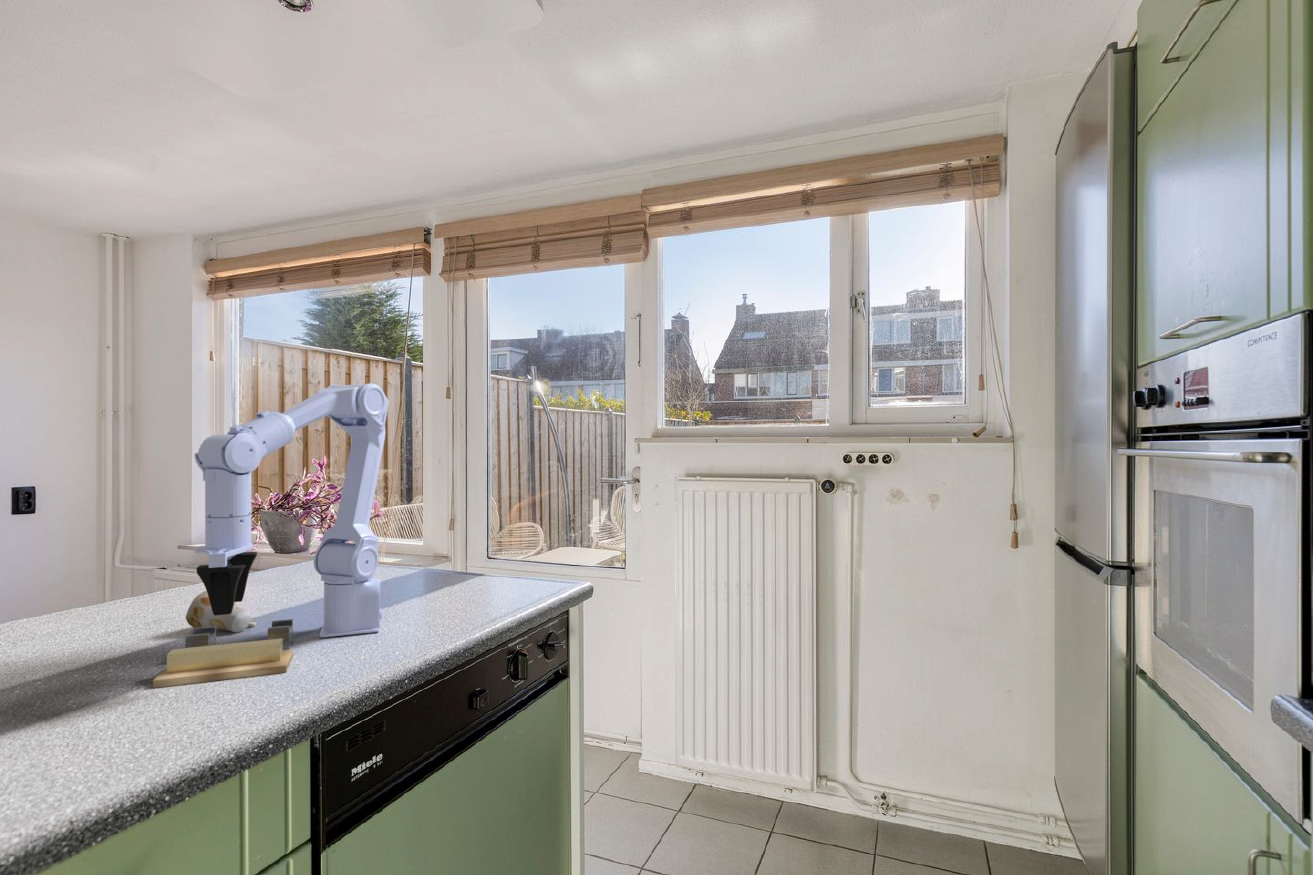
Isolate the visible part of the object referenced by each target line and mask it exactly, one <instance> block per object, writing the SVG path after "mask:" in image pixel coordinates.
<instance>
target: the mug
mask: <svg viewBox="0 0 1313 875" xmlns="http://www.w3.org/2000/svg"><path fill="white" fill-rule="evenodd" d="M185 619H186V622H187V624H188V625H189V626H190V627H192V628H193V629H194V628H199V627H210V626H216V631H228V632H232V633H235V634H236V633H240V632H243V631H244V630H246V629H247V628H248V627H251V628H253V627H254V628H255V627H257V623H256V622H255V621H253V620H252V616H251V613H250V612H249V611H248V610H246V609H243V608H241V607H239V606H238V605H237V604H236V602H234V606H233V610H232V613H231V614H227V615H215V616H214V614H213V612H212V609H211V605H210V601H209V597H208V593H207V590H205V591H202V592H200V593H198V594H197V596H195V598H194V599H193V600H192V602H191V603H190V605H189V607H188V608H187V611H186V615H185Z"/></svg>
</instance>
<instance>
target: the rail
mask: <svg viewBox="0 0 1313 875" xmlns="http://www.w3.org/2000/svg"><path fill="white" fill-rule="evenodd" d="M282 656H283V638H282V639H271V640H268V639H264V640H263V639H262V640H253V641H243V642H233V643H232V642H231V643H224V644H223V643H222V644H216V645H211V646H201V647H191V648H185V647H184V648H183V647H182V648H174V649H171V650H170V651H169V652H168V653H167V654H166V666H167V673H174V672H183V671H192V670H201V669H210V668H219V667H228V666H237V665H246V664H255V663H264V662H273V661H280V660H281V658H282Z"/></svg>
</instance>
